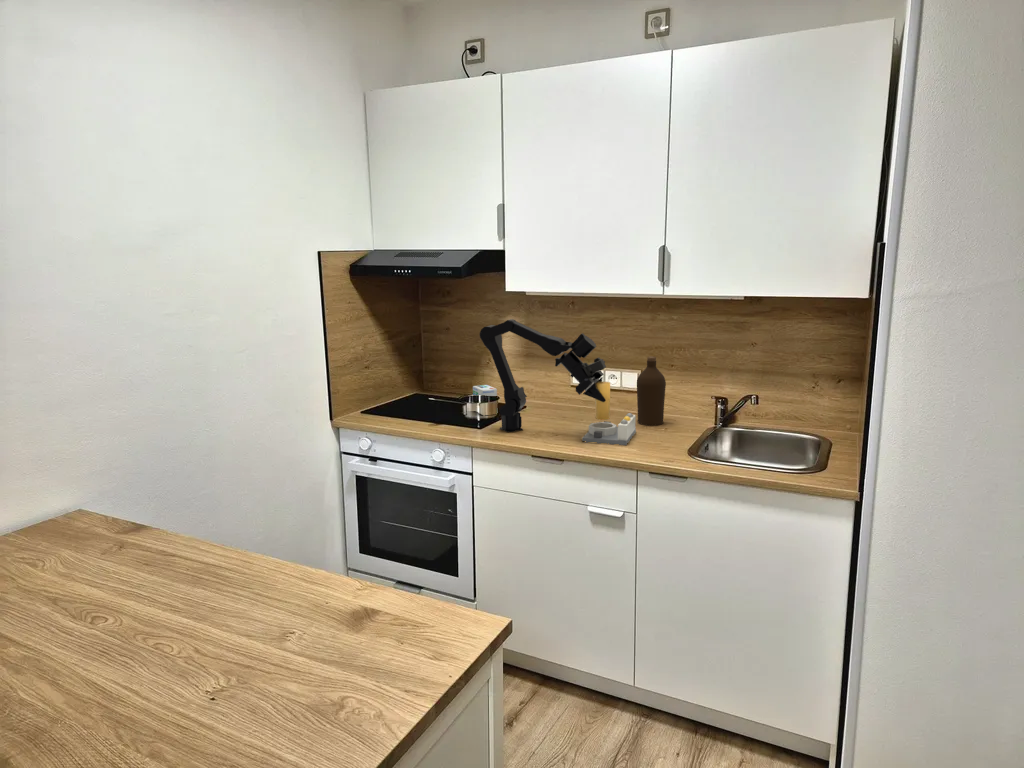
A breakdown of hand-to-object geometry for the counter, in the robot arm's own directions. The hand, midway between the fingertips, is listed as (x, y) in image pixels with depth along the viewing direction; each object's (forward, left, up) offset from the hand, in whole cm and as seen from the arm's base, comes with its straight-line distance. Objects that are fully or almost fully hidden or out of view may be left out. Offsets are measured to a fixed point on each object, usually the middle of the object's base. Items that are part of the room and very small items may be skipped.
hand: (606, 399), depth 235 cm
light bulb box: (-18, +57, -13) cm, 61 cm away
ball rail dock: (+1, -1, -13) cm, 13 cm away
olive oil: (+26, +7, -13) cm, 30 cm away
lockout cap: (-1, +1, -7) cm, 7 cm away
